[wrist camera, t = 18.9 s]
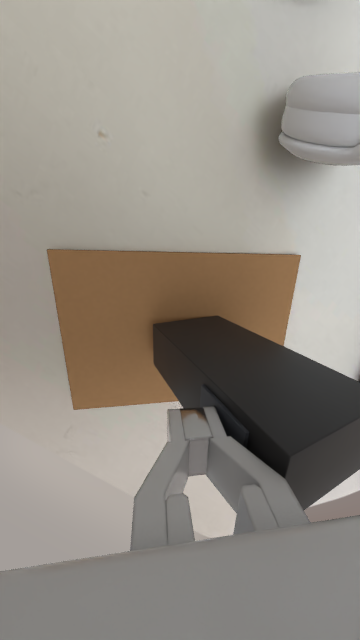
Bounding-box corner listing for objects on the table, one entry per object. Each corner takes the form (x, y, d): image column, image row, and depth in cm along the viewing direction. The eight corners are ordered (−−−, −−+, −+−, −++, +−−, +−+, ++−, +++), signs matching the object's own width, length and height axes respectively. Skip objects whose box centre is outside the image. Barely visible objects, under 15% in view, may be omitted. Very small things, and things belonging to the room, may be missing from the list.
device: (151, 364, 17) (267, 538, 7) (150, 323, 16) (286, 458, 6) (214, 351, 20) (368, 463, 9) (217, 315, 19) (395, 398, 8)
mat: (75, 406, 20) (73, 410, 19) (49, 249, 15) (46, 249, 15) (271, 390, 23) (274, 393, 22) (297, 254, 18) (301, 254, 18)
